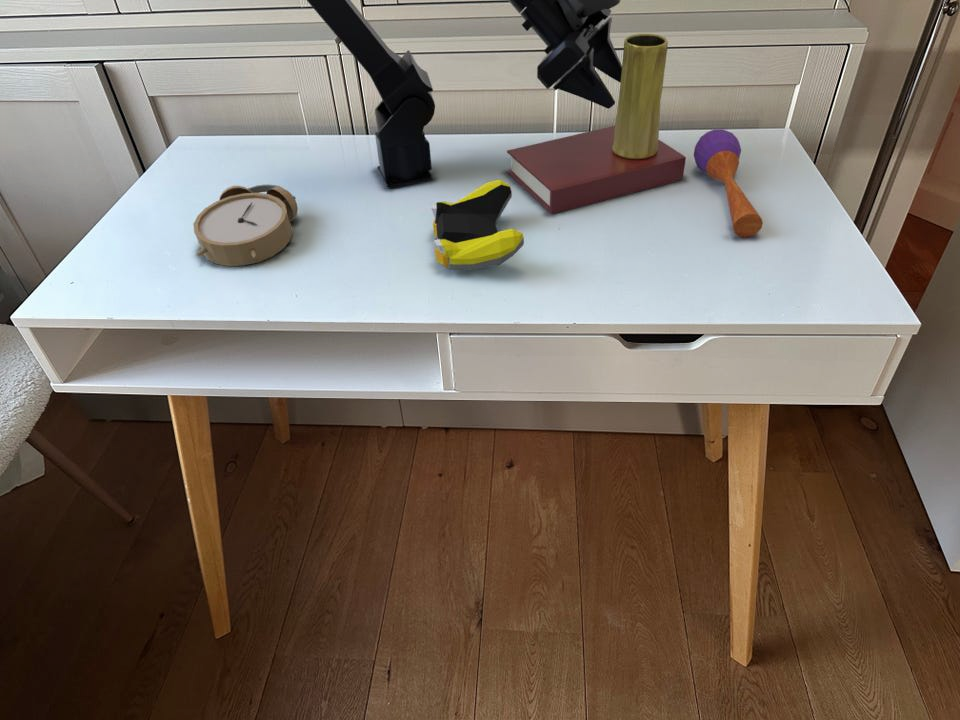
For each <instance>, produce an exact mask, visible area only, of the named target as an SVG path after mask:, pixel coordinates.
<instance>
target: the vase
mask: <svg viewBox="0 0 960 720" xmlns="http://www.w3.org/2000/svg"><path fill="white" fill-rule="evenodd" d="M668 44H669V41H668V39H667V38H666V37H665V36H662V35H660V34H655V33H636V34H631V35H627V37H625V39H624V43H623V54H622V75H621V83H620V82H619V84H620V86H619V91H618V92H619V93H618V102H617V107H616V108H617V109H616V115H615V125H614V126H615V132H614V142H613V146H612V150H613V152H614V153H615V154H616V155H618V156H620V157H623V158H627V159H646V158H649V157H652V156H654V155H655V154H656V153H657V151H658V139H659V137H660V136H659V134H660V118H661V99H662V93H663V89H664V88H663V87H664V79H665V69H666V63H667V55H668V48H669V47H668V46H669V45H668Z"/></svg>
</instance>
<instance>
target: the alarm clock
mask: <svg viewBox="0 0 960 720" xmlns="http://www.w3.org/2000/svg"><path fill="white" fill-rule="evenodd" d="M296 198H297V197H296V196H295V195H293V194H292V193H291V192H290V191H289V190H287V189H285V188H284V187H282V186H280V185H276V184H259V185H258V184H257V185H254V186H251V187H248V188H247V187H245V186H243V185H232V186H229V187H227V188H225V189H224V190H223V191H222V192H221V194H220V196H219V199H218V200H217V201H215V202H213V203H211V204H210V205H208V206H207V207H205V208H204V209H202V211H201V212H199V214H198V215H197V217H196V218H195V220H194V222H193V233H194V235H195V236H196V239H197V241H198V244H199V247H200V249H199V250H198V251H197V252H196V253H195V255H196V256H197V257H200V256H202V255H203V256H205V258H206V259H207V260H208V261H210V262H212V263H214V264H216V265H220V266H226V267H240V266H241V267H242V266H248V265H252V264H257V263H260V262H263V261H265V260H267V259H269V258H272V257H274V256H275V255H277V254H278V253H280V252H281V251H283V250H284V249H285V248H286V246H287V245H288V244H289V242H290V241H291V240H292V236H293V233H294V231H293V227H292V223H291V222H293V221H294V220H295V218H297V215H298V211H299V210H298V209H299V208H298V203H297V200H296Z"/></svg>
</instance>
